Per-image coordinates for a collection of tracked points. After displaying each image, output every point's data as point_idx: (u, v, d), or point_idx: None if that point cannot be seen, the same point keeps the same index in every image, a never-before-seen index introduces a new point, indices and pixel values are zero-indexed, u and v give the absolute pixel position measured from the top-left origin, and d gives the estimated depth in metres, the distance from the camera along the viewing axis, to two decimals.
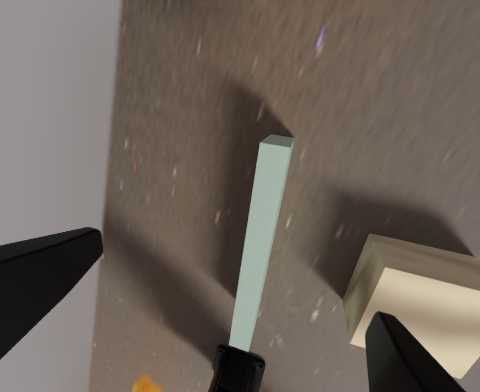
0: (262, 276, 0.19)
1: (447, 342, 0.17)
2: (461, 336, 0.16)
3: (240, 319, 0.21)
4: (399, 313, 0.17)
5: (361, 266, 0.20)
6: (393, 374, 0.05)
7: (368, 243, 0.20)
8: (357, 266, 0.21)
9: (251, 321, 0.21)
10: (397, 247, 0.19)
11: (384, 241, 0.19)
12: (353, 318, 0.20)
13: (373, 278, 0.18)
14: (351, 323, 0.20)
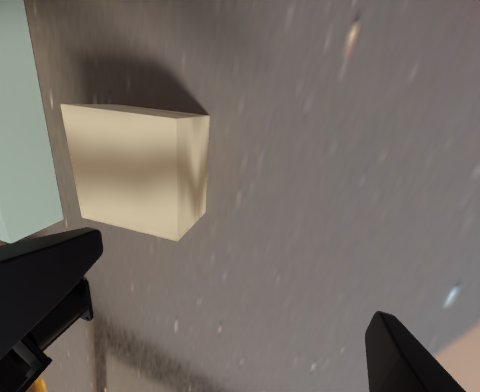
0: None
1: (147, 194, 0.15)
2: (153, 181, 0.15)
3: None
4: (97, 164, 0.15)
5: None
6: (393, 374, 0.05)
7: None
8: None
9: None
10: (123, 106, 0.17)
11: (119, 105, 0.18)
12: None
13: None
14: None
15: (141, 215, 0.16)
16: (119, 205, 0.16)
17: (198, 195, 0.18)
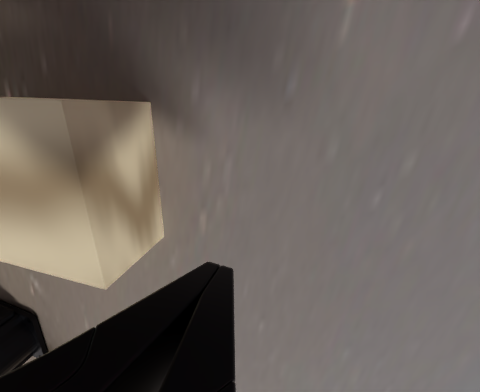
0: None
1: (51, 223, 0.10)
2: (53, 204, 0.09)
3: None
4: None
5: None
6: None
7: None
8: None
9: None
10: None
11: None
12: None
13: None
14: None
15: (51, 254, 0.11)
16: (20, 240, 0.11)
17: (144, 217, 0.13)
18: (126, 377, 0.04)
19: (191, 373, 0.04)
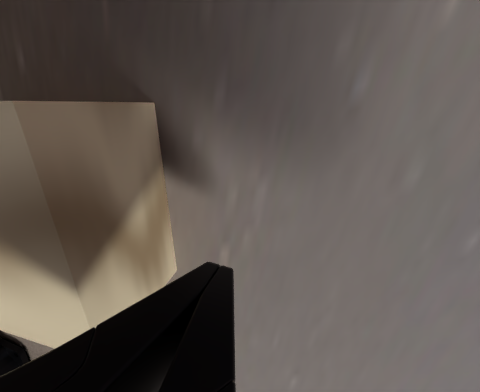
0: None
1: (21, 278, 0.07)
2: (22, 253, 0.07)
3: None
4: None
5: None
6: None
7: None
8: None
9: None
10: None
11: None
12: None
13: None
14: None
15: (27, 316, 0.08)
16: None
17: (151, 252, 0.10)
18: (126, 377, 0.04)
19: (191, 373, 0.04)
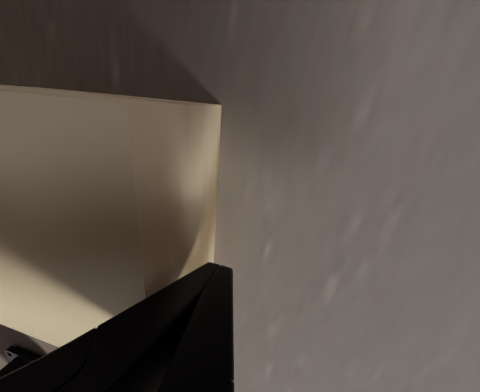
0: None
1: (78, 289, 0.06)
2: (86, 266, 0.06)
3: None
4: None
5: None
6: None
7: None
8: None
9: None
10: None
11: (41, 88, 0.09)
12: None
13: None
14: None
15: (73, 327, 0.07)
16: (26, 302, 0.07)
17: (199, 263, 0.09)
18: (127, 378, 0.04)
19: (190, 373, 0.04)
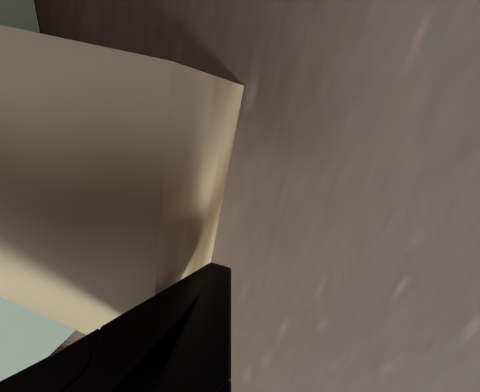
0: None
1: (82, 259, 0.06)
2: (95, 235, 0.06)
3: None
4: None
5: None
6: None
7: None
8: None
9: None
10: None
11: None
12: None
13: None
14: None
15: (69, 299, 0.07)
16: (20, 268, 0.07)
17: (202, 246, 0.09)
18: (131, 379, 0.04)
19: (187, 372, 0.04)
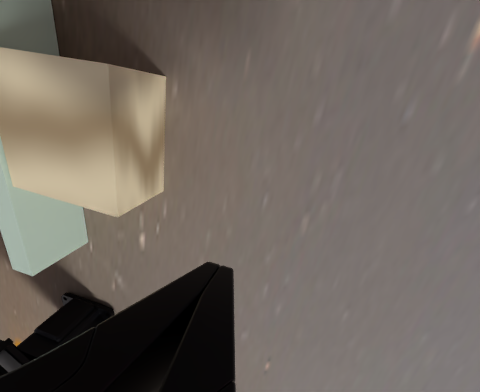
0: None
1: (81, 159, 0.13)
2: (86, 144, 0.12)
3: (6, 227, 0.17)
4: (24, 121, 0.13)
5: None
6: None
7: None
8: None
9: (16, 228, 0.16)
10: None
11: None
12: None
13: None
14: None
15: (76, 185, 0.14)
16: (51, 172, 0.14)
17: (150, 169, 0.16)
18: (126, 377, 0.04)
19: (191, 373, 0.04)
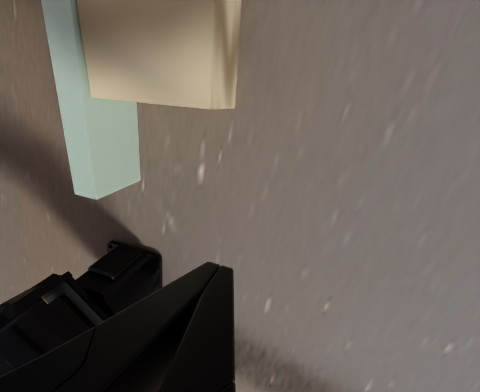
0: (75, 53, 0.14)
1: (173, 43, 0.12)
2: (181, 21, 0.12)
3: (73, 143, 0.16)
4: (110, 10, 0.12)
5: None
6: None
7: None
8: None
9: (85, 142, 0.16)
10: None
11: None
12: None
13: None
14: None
15: (165, 79, 0.13)
16: (137, 69, 0.13)
17: (230, 72, 0.15)
18: (126, 377, 0.04)
19: (191, 373, 0.04)
